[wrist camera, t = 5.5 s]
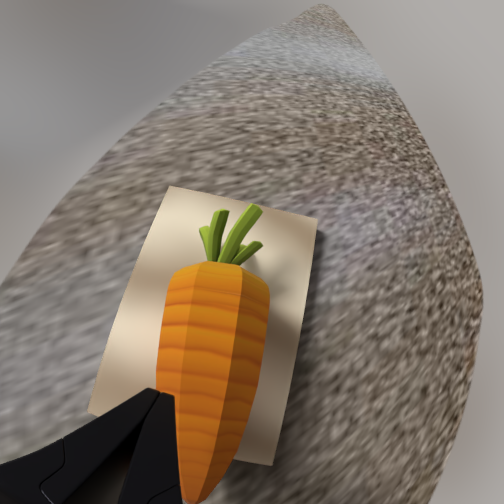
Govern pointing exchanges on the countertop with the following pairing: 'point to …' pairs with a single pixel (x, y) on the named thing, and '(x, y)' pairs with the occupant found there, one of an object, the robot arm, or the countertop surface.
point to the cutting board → (192, 252)
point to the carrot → (213, 352)
